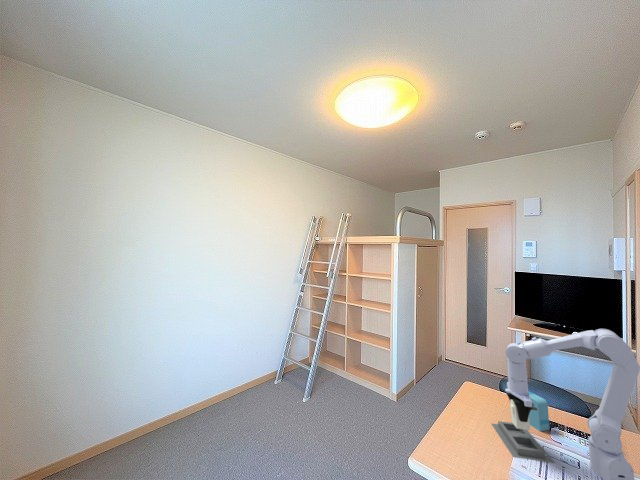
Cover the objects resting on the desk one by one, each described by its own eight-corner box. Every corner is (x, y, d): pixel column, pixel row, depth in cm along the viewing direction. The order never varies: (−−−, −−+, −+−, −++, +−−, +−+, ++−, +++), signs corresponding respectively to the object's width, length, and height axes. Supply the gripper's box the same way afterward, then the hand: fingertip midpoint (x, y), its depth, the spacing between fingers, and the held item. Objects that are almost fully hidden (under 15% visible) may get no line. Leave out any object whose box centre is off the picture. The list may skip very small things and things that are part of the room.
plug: (541, 431, 92) (540, 407, 93) (515, 428, 94) (513, 404, 95) (535, 424, 96) (533, 401, 96) (510, 421, 98) (508, 399, 98)
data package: (550, 432, 102) (547, 400, 103) (540, 434, 101) (538, 401, 103) (521, 415, 114) (519, 386, 115) (512, 416, 113) (510, 387, 114)
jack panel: (555, 466, 85) (554, 456, 86) (513, 460, 88) (512, 450, 89) (525, 430, 104) (524, 422, 104) (491, 425, 107) (490, 418, 107)
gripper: (497, 369, 105) (499, 405, 103) (514, 386, 91) (516, 428, 89) (517, 371, 103) (520, 407, 102) (538, 388, 89) (541, 431, 88)
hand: (520, 417), depth 95 cm, fingers closed on plug, 4 cm apart
